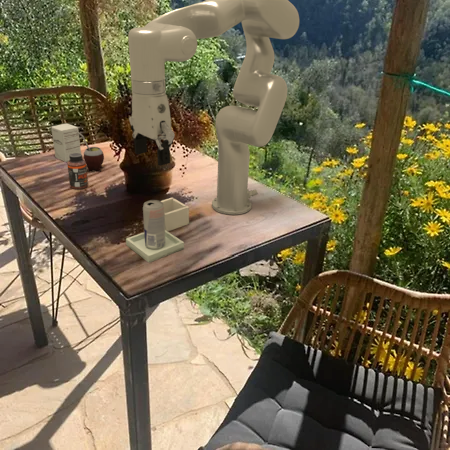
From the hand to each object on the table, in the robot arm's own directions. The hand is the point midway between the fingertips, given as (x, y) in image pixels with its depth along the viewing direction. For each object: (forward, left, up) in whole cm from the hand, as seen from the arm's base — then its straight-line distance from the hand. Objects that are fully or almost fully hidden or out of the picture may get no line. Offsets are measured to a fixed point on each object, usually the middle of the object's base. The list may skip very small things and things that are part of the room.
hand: (152, 158), depth 111 cm
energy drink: (+1, +1, -24) cm, 24 cm away
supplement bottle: (-1, -48, -25) cm, 54 cm away
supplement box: (-10, -76, -25) cm, 80 cm away
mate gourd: (-12, -59, -25) cm, 65 cm away
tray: (+1, +1, -24) cm, 24 cm away
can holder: (-10, -8, -24) cm, 27 cm away
